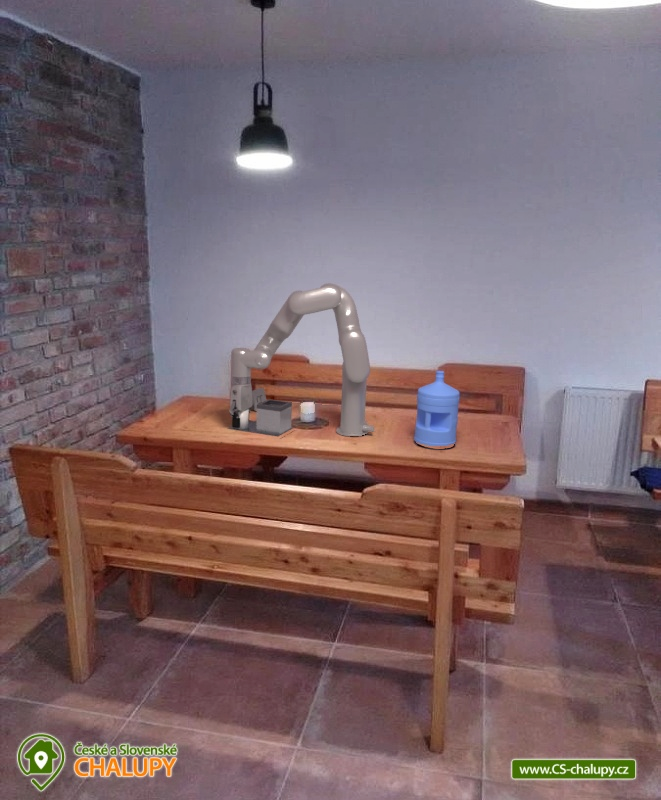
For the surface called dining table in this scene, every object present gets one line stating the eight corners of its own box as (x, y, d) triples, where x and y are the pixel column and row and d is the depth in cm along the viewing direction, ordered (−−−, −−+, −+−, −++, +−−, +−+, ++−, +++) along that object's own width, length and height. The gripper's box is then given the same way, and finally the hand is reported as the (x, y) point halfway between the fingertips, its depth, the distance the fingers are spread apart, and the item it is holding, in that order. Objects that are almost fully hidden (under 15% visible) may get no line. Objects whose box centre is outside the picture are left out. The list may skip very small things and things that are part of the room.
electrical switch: (256, 412, 283) (255, 391, 281) (246, 411, 285) (245, 390, 284) (268, 408, 291) (267, 387, 289) (258, 407, 293) (257, 387, 292)
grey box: (296, 429, 259) (297, 400, 256) (278, 440, 244) (278, 409, 241) (247, 422, 266) (248, 393, 264) (227, 432, 252) (227, 402, 249)
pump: (251, 426, 256) (251, 405, 254) (243, 429, 250) (243, 408, 248) (234, 423, 258) (234, 402, 256) (226, 427, 253) (226, 406, 251)
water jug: (427, 435, 257) (432, 366, 251) (463, 444, 248) (469, 372, 241) (405, 443, 246) (410, 371, 239) (442, 453, 236) (448, 377, 229)
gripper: (238, 385, 241) (238, 432, 245) (260, 377, 256) (259, 421, 260) (220, 383, 243) (220, 429, 247) (243, 375, 259) (243, 419, 263)
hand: (240, 424), depth 254 cm, fingers open, 6 cm apart
